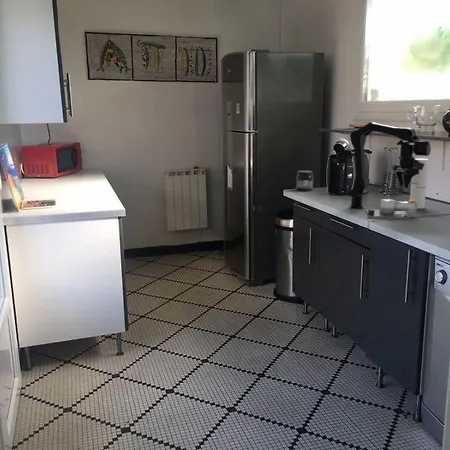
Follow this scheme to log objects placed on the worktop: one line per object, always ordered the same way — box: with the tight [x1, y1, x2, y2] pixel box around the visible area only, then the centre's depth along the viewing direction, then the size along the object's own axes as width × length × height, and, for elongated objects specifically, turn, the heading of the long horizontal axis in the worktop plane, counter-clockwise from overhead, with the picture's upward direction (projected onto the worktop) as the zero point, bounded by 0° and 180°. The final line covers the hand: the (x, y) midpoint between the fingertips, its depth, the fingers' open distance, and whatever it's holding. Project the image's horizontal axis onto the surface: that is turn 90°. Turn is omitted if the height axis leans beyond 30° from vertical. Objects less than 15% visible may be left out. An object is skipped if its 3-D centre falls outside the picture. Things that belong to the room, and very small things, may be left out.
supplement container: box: [295, 170, 314, 192], centre depth 308 cm, size 10×10×12 cm
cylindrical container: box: [409, 158, 430, 210], centre depth 252 cm, size 7×7×25 cm
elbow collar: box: [379, 198, 418, 214], centre depth 233 cm, size 16×7×6 cm, turn 79°
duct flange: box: [365, 208, 410, 220], centre depth 234 cm, size 16×18×3 cm
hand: (403, 187), depth 236 cm, fingers open, 6 cm apart
